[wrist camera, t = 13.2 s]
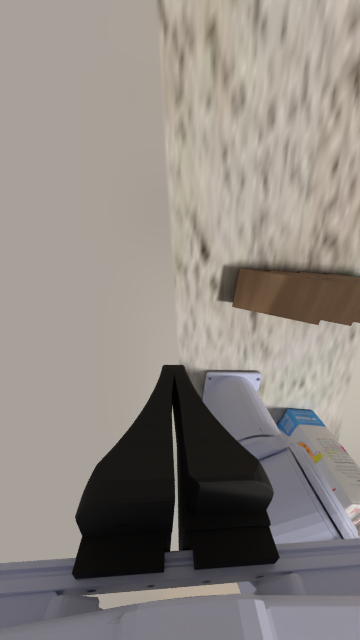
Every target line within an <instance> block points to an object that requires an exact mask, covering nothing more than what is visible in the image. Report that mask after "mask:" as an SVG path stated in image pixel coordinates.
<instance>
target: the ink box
mask: <svg viewBox="0 0 360 640" xmlns="http://www.w3.org/2000/svg"><path fill="white" fill-rule="evenodd" d="M277 427H278V429H279V431H280V433H281V434H282V436H283V438H284V439H285V441H286V442H287V444H288V445H289V446H290V444H292V443H296V444H297V445H300V446H302V447H304V448H305V449H306V451H307V452H308V454H309V455H310V457H311V458H312V460H313V461H314V463H315V465H316V466H317V468H318V469H319V471H320V472H321V474H322V475H323V477H324V478H325V480H326V482H327V483H328V485H329V486H330V488H331V489H332V491H333V493H334V494H335V496H336V497H337V499H338V500H339V502H340V503H341V505H342V507H343V508H344V510H345V511H346V513H347V514H348V516H349V518H350V519H351V521H352V522H353V524H354V526H355V527H356V529H357V531H358V536H359V537H360V468H359V466H358V465H357V464H356V463H355V461H354V460H353V459H352V458H351V457H350V455H349V454H348V453H347V452H346V450H345V449H344V448H343V447H342V446H341V444H340V443H339V442H338V441H337V439H336V438H335V437H334V436H333V435H332V433H331V432H330V431H329V430H328V429H327V427H326V426H325V425H324V424H323V422H322V421H321V420H320V419H319V418H318V416H317V415H316V414H315V413H314V412H313V411H311V410H297V409H287V410H286V412H285V414H284V415H283V417H282V418H281V420H280V421H279V423H278V425H277ZM290 448H291V447H290Z"/></svg>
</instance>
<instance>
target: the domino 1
mask: <svg viewBox="0 0 360 640" xmlns="http://www.w3.org/2000/svg"><path fill="white" fill-rule="evenodd" d="M336 283H337V282H335V281H334V280H332V279H324V278H316V277H308V276H300V275H292V274H284V273H276V272H269V271H261V270H253V269H245V268H242V269H240V271H239V276H238V281H237V286H236V291H235V296H234V301H233V306H232V307H236V308H240V309H245V310H250V311H255V312H259V313H264V314H269V315H274V316H278V317H283V318H288V319H292V320H297V321H302V322H307V323H311V324H316V325H318V324H319V322H320V320H321V317H322V315H323V313H324V310H325V308H326V306H327V303H328V301H329V299H330V296H331V294H332V292H333V290H334V287H335V285H336Z"/></svg>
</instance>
